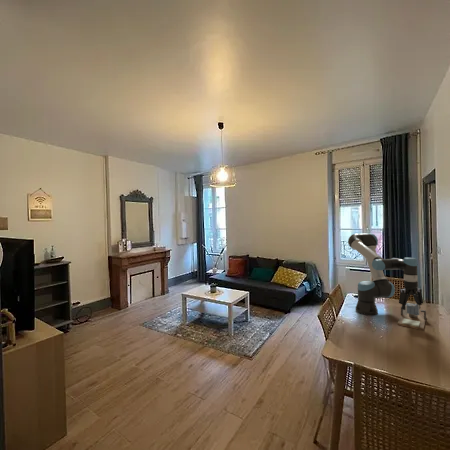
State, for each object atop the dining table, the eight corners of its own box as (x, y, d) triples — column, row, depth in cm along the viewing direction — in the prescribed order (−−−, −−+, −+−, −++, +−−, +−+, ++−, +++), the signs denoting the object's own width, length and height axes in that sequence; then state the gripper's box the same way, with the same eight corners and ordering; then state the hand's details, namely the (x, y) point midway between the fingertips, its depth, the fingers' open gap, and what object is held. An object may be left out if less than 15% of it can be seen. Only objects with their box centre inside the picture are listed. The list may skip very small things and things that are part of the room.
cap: (399, 310, 175) (399, 302, 175) (410, 309, 176) (410, 301, 176) (412, 315, 164) (411, 307, 164) (423, 314, 165) (423, 306, 165)
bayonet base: (397, 324, 171) (397, 314, 171) (402, 313, 191) (402, 303, 191) (424, 330, 162) (423, 319, 162) (426, 317, 181) (426, 308, 181)
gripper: (400, 282, 165) (400, 316, 166) (430, 281, 167) (430, 315, 167) (391, 280, 173) (392, 312, 173) (420, 278, 174) (421, 311, 174)
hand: (411, 314), depth 170 cm, fingers closed on cap, 8 cm apart
